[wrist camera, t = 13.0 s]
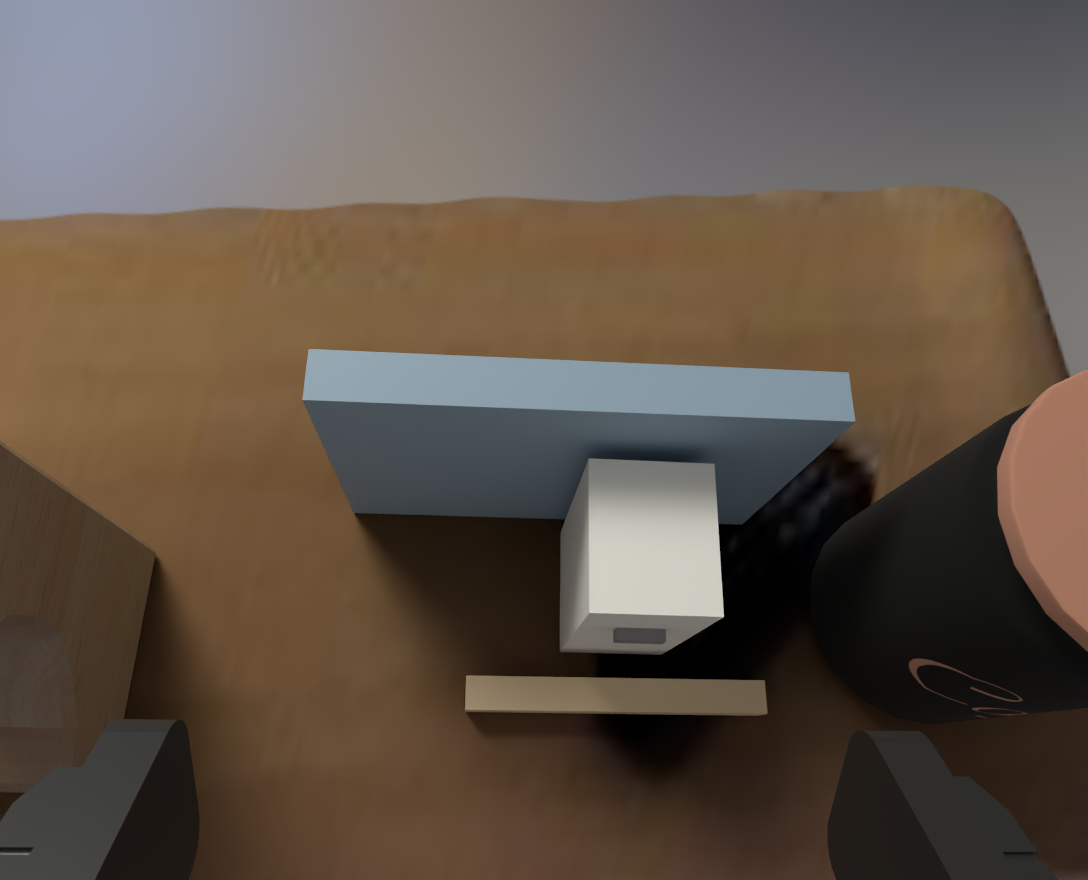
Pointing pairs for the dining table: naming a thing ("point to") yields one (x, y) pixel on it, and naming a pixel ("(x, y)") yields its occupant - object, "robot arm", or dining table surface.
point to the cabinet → (639, 557)
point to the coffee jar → (970, 575)
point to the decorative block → (62, 622)
